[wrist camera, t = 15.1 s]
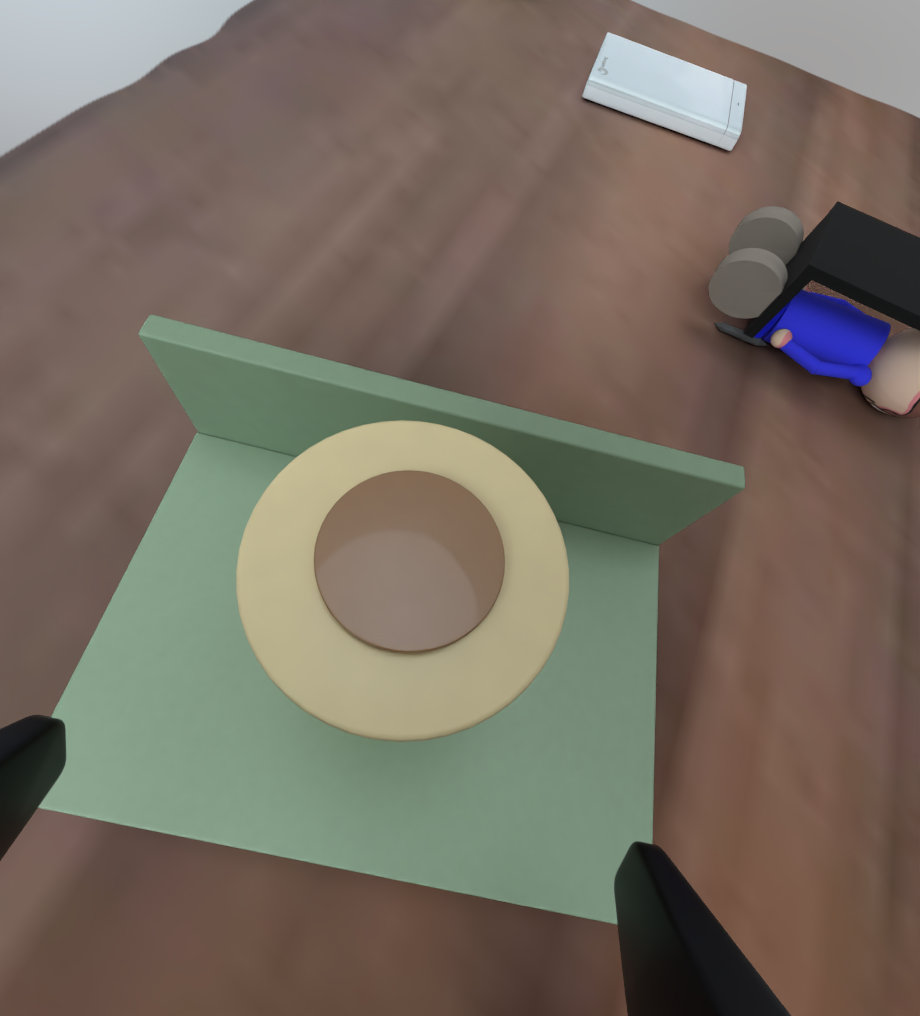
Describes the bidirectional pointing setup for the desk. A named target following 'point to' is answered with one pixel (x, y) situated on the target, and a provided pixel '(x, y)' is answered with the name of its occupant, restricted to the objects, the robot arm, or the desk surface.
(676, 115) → the hard drive
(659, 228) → the desk surface
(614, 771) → the shelf
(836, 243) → the figurine character
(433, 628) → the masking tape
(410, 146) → the desk surface
